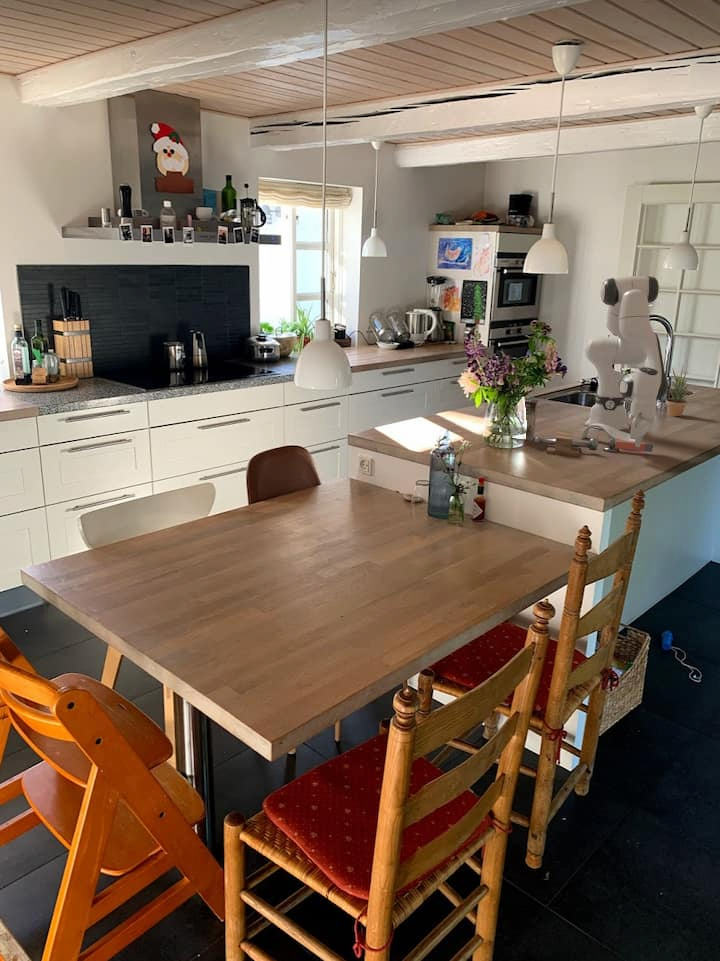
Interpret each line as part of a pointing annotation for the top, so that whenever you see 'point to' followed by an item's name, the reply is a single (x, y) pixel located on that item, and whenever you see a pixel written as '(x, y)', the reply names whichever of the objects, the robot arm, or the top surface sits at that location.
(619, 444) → the latch lever
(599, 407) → the robot arm
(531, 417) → the coffee box
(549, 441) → the hook rod
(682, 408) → the potted plant
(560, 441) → the eye block
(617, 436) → the spoon rest
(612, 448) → the lever base
